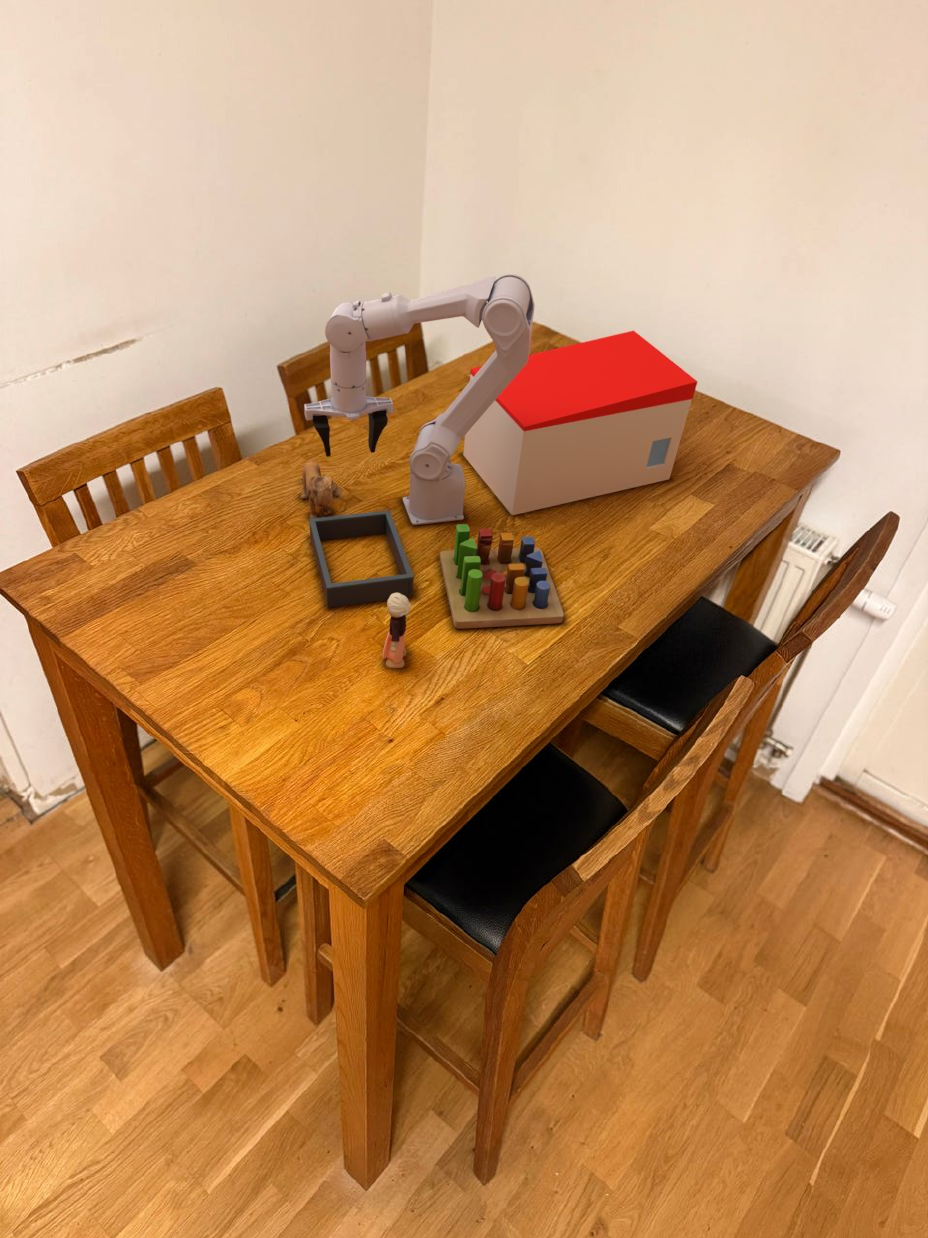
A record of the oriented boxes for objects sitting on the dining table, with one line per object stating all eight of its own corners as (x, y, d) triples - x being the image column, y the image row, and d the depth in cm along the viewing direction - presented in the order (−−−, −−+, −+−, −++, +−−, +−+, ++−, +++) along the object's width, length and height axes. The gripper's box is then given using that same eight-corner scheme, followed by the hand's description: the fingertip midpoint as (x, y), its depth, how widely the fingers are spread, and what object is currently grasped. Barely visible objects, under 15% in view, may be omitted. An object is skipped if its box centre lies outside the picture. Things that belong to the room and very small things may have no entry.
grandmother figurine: (382, 641, 133) (383, 578, 125) (407, 641, 134) (410, 578, 125) (382, 679, 128) (383, 615, 119) (409, 679, 128) (412, 615, 120)
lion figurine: (346, 524, 154) (345, 481, 147) (317, 531, 152) (315, 488, 145) (315, 479, 163) (313, 436, 156) (287, 485, 161) (284, 442, 154)
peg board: (563, 624, 139) (572, 583, 133) (454, 630, 136) (458, 588, 131) (539, 553, 152) (546, 513, 146) (439, 558, 149) (441, 517, 143)
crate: (389, 529, 153) (389, 510, 151) (413, 596, 141) (413, 576, 138) (310, 538, 150) (308, 518, 147) (327, 608, 138) (326, 588, 135)
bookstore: (671, 478, 172) (698, 381, 157) (512, 515, 159) (526, 412, 145) (613, 424, 185) (634, 330, 170) (462, 454, 172) (471, 355, 158)
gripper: (307, 395, 139) (311, 468, 148) (397, 388, 142) (396, 460, 151) (300, 373, 143) (304, 445, 153) (388, 367, 147) (387, 438, 156)
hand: (349, 451), depth 152 cm, fingers open, 7 cm apart
